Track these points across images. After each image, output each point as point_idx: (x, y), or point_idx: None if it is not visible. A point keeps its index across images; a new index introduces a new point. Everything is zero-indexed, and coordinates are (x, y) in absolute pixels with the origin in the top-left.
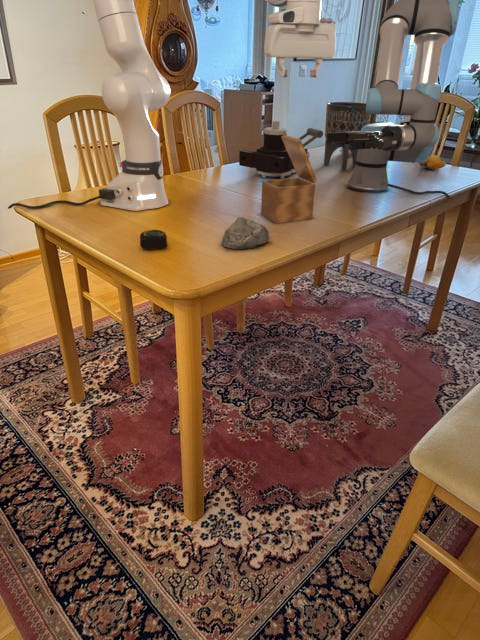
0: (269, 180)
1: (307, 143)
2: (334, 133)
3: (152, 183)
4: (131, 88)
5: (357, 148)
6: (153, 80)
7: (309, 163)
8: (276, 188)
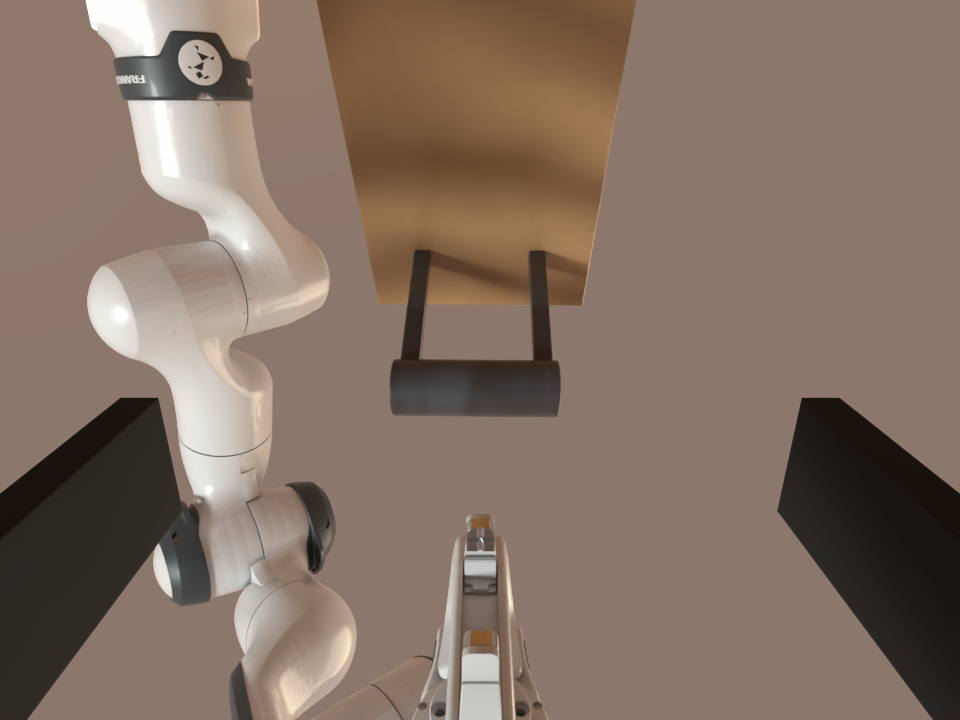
0: None
1: (546, 294)
2: (126, 573)
3: (233, 26)
4: (317, 296)
5: (883, 448)
6: (229, 333)
7: (606, 159)
8: None
